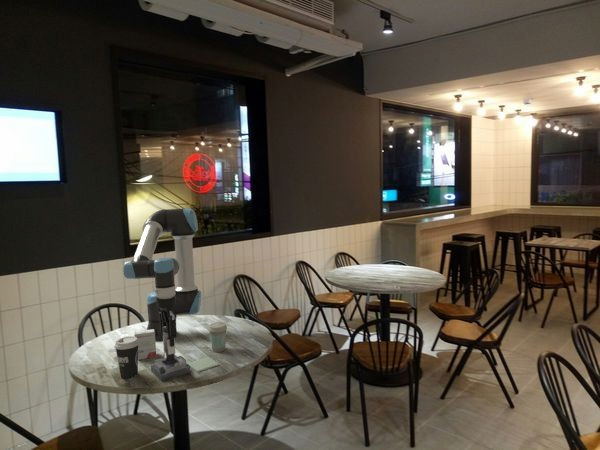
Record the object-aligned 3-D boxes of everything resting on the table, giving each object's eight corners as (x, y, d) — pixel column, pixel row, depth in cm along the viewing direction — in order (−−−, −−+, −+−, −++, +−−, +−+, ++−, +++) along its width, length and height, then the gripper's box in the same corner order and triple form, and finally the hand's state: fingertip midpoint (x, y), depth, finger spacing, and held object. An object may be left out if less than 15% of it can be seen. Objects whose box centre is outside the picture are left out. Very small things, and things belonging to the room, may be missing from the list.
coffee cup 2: (224, 354, 193) (222, 328, 192) (206, 353, 195) (205, 327, 194) (230, 346, 202) (229, 322, 200) (213, 345, 203) (212, 321, 202)
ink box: (156, 353, 197) (154, 328, 196) (156, 357, 192) (154, 331, 191) (136, 355, 194) (134, 330, 193) (136, 360, 190) (134, 334, 188)
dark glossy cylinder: (163, 358, 176) (161, 326, 175) (172, 356, 179) (170, 323, 177) (167, 362, 173) (164, 328, 172) (176, 359, 176) (174, 326, 174)
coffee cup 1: (121, 370, 179) (118, 336, 178) (144, 369, 180) (141, 334, 179) (113, 381, 170) (110, 345, 168) (137, 379, 171) (135, 343, 169)
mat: (187, 364, 183) (186, 363, 183) (208, 358, 190) (208, 356, 189) (197, 372, 176) (197, 370, 176) (219, 365, 182) (218, 363, 182)
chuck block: (151, 371, 178) (150, 361, 177) (178, 363, 185) (178, 353, 185) (162, 381, 168) (161, 370, 168) (190, 372, 176) (190, 361, 175)
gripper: (149, 294, 178) (153, 348, 180) (164, 302, 164) (168, 360, 167) (166, 290, 182) (170, 343, 185) (183, 298, 169) (186, 355, 172)
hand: (169, 351), depth 176 cm, fingers closed on dark glossy cylinder, 4 cm apart
